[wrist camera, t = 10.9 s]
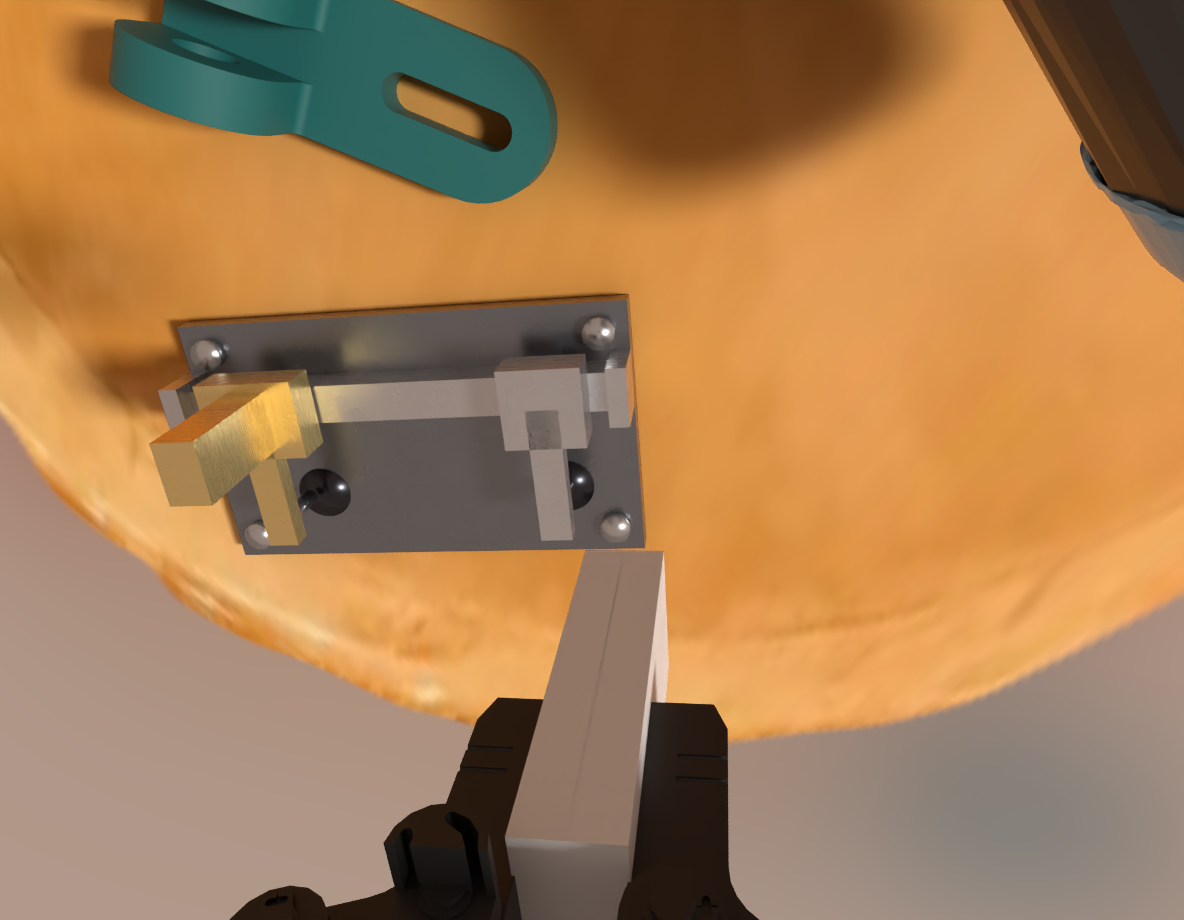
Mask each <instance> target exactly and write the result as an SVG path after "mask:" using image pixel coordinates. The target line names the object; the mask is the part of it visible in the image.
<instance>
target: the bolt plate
mask: <svg viewBox="0 0 1184 920" xmlns="http://www.w3.org/2000/svg"><path fill="white" fill-rule="evenodd" d="M177 329H178V332H179V335H180V339H181V342H182V345H183V349H184V352H185V355H186V359H187V362H188V365H189V369H190V372H202V371H208V375H209V377H210V376H211V375H213V374H220V373H240V372H259V371H279V370H298V369H306V372H307V375H319V374H339V373H359V372H379V371H399V370H419V369H439V368H459V367H479V366H499V364H500V363H501V361H502V360H503V359H504V358H509V357H528V356H547V355H567V354H585V357H586V361H598V360H608V357H609V354H610V351H611V350H626V349H631V362H632V376H633V390H634V404H635V406H634V411H633V416H632V421H631V426H630V427H626V428H610V426H609V415H608V411H600V412H591V419H592V430H593V431H592V434H591V437H590V441H589V444H588V447H587V448H578V449H566V451H567V460H568V469H569V478H570V481H572V482H573V484H574V490H573V493H572V505H573V514H574V523H575V533H574V537H573V540H551V541H541V534H540V526H539V518H538V511H537V503H536V495H535V488H534V480H533V472H532V465H531V457H530V450H521V451H505V446H504V439H503V432H502V425H501V418H500V416H478V417H454V418H430V419H406V420H381V421H357V422H333V423H319V426H320V430H321V434H322V438H323V443H322V444H321V445H320V446H319V447H318V448H317V449H316V450H315V451H314V452H313V453H312V454H311V455H309V456H308V457H307V458H291V459H287V463H288V467H289V471H290V475H291V478H292V482H293V486H294V490H295V494H296V497H297V499H298V498H299V497H300V496H301V495H302V494H303V493H304V492H305V491H306V490H313V491H314V492H315V493H316V494H317V500H316V501H315V502H314V504H313V505H312V506H311V507H310V508H309V509H308V510H307V511H306V512H305V513H304V514H303V516H302V520H303V524H304V528H305V532H306V535H307V536H306V537H305V538H304V539H303V541H302V542H301V543H300V544H299V545H281V546H270V543H269V540H268V536H267V533H266V529H265V526H264V522H263V519H262V515H261V512H260V508H259V505H258V501H257V498H256V494H255V491H254V487H253V484H252V480H251V477H250V473H249V474H248V475H247V476H246V477H245V478H243V479H242V480H241V481H240V482H239V483H238V484H237V485H235V486H234V487H233V488H232V489H231V490H230V491H228V492H227V495H228V498H229V501H230V505H231V508H232V511H233V515H234V518H235V521H236V525H237V528H238V531H239V535H240V538H241V541H242V545H243V548H244V551H245V555H262V554H322V553H381V552H440V551H499V550H558V549H618V548H645V543H646V528H645V514H644V500H643V486H642V472H641V458H640V444H639V429H638V415H637V401H636V387H635V373H634V359H633V345H632V331H631V317H630V303H629V294H625V295H608V296H592V297H576V298H560V299H543V300H527V301H511V302H495V303H479V304H462V305H446V306H430V307H414V308H397V309H381V310H365V311H349V312H332V313H316V314H300V315H284V316H268V317H251V318H235V319H219V320H203V321H189V322H187V323H185V324H183V325H181V326H179V327H177Z"/></svg>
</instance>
